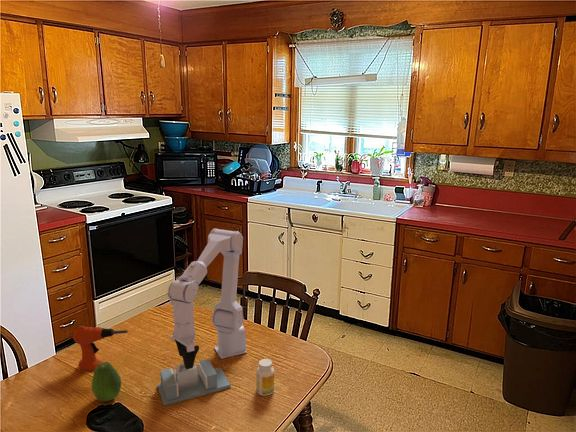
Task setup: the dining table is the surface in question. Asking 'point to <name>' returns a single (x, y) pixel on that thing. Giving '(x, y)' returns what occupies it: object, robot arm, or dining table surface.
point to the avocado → (105, 382)
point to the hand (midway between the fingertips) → (186, 361)
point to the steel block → (186, 377)
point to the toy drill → (91, 344)
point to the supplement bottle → (265, 377)
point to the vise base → (171, 394)
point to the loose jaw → (207, 374)
